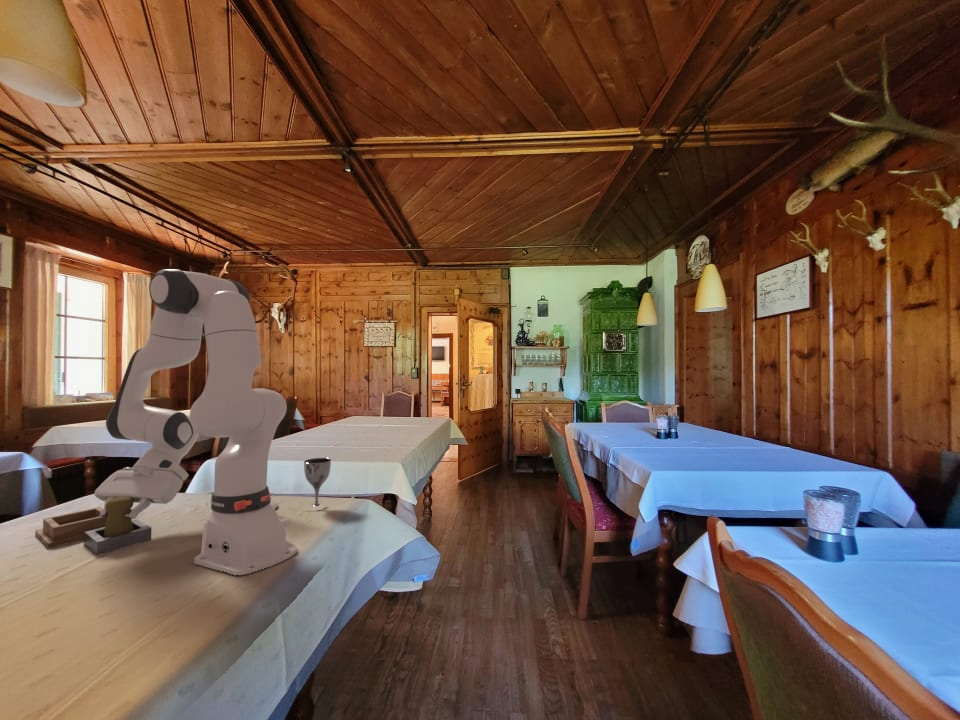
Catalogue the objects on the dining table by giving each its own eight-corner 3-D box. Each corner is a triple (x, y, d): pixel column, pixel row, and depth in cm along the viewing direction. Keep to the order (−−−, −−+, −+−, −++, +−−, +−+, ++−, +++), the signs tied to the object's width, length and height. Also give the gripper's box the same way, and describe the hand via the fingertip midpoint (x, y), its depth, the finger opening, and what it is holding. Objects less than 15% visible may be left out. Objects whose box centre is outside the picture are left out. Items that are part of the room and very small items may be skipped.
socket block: (151, 539, 99) (151, 527, 99) (96, 555, 90) (97, 542, 90) (136, 530, 104) (137, 519, 104) (83, 544, 96) (84, 532, 96)
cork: (113, 548, 94) (115, 502, 94) (94, 545, 95) (96, 500, 95) (140, 538, 100) (142, 495, 100) (121, 535, 101) (123, 493, 101)
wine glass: (304, 504, 126) (305, 458, 126) (330, 502, 128) (331, 457, 129) (301, 513, 118) (302, 464, 119) (328, 510, 121) (329, 462, 121)
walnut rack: (119, 530, 104) (119, 514, 104) (48, 548, 93) (48, 530, 93) (102, 519, 112) (103, 504, 112) (35, 534, 101) (36, 518, 101)
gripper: (112, 461, 106) (69, 509, 96) (181, 463, 104) (144, 513, 94) (128, 473, 110) (89, 520, 100) (194, 475, 108) (160, 524, 98)
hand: (116, 517), depth 97 cm, fingers open, 6 cm apart
